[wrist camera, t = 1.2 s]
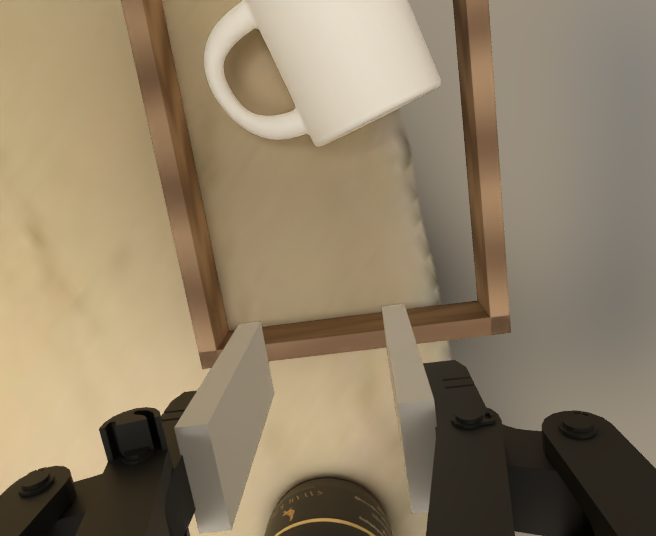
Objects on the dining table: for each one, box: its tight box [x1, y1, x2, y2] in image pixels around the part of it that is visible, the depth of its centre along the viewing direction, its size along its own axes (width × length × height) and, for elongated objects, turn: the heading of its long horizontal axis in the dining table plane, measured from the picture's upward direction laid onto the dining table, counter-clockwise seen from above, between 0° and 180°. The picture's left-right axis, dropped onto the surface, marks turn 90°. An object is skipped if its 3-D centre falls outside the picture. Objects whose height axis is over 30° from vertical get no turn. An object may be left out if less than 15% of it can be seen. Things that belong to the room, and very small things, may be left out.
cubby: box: [121, 0, 511, 369], centre depth 33 cm, size 24×20×4 cm
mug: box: [204, 0, 441, 147], centre depth 29 cm, size 12×10×8 cm
